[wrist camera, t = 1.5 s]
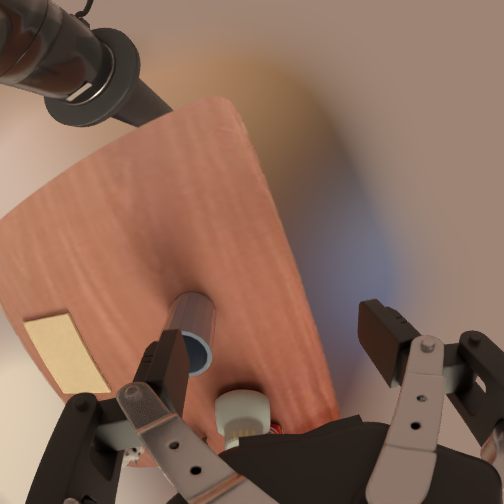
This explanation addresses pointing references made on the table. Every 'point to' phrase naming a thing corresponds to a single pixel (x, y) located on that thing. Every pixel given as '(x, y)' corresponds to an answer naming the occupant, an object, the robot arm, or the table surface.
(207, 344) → the cup
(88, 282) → the table surface
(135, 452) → the chubby cartoon animal
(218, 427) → the air freshener
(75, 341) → the mat
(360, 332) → the robot arm
